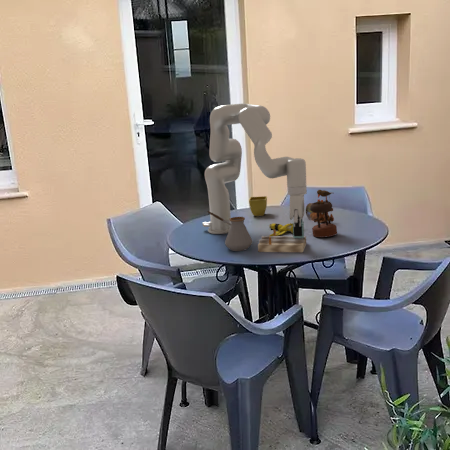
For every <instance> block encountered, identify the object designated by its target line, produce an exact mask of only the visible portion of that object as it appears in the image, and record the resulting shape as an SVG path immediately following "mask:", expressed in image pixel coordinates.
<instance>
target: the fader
mask: <svg viewBox="0 0 450 450" xmlns="http://www.w3.org/2000/svg"><path fill="white" fill-rule="evenodd" d="M292 223H293V234H292V236H293V238H294V240H303V238H304V236H305V223H304V221H303V222H301V226H302V236H294V221H293V222H292Z"/></svg>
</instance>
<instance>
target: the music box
mask: <svg viewBox="0 0 450 450" xmlns="http://www.w3.org/2000/svg"><path fill="white" fill-rule="evenodd" d="M316 194H317V198H319V197H320V196H321V198H322V197H324V198H325V200H324V199H317V202H311V203H312V204H311V206H310V209H311V211H312V212H313V213H317V218H316V219H314V221H313V222H314V223H317V224H316V225H313V226H312V229H311V230H312V237H315V238H327V237H333V236H335V235H337V234H338V228H337V227H338V226H337V225H336V224H335V223H333V222H334V221H335V218H334V215H333V213H331V212H333V211H334V207H333V203H332V202H331V201H330V200H329V201H328V198H329V199H331V196H330V195H332V194H333V192H331V191H328V190H325V189H317V191H316ZM324 212H325V217H324ZM327 212H328V213H330V215H329V214H328V215H327ZM321 213H322V214H321ZM319 215H320V218H319ZM316 221H317V222H316ZM320 221H321V223H320ZM322 221H324V222H322ZM331 222H332V223H331Z"/></svg>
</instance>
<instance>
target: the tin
mask: <svg viewBox="0 0 450 450" xmlns="http://www.w3.org/2000/svg"><path fill="white" fill-rule="evenodd" d="M312 203H313V202H309V203H308V204H306V207H305V215H306V218H307V219H308V220H310V221H312V222H314V219H316V218H317V213H313V212H312V211H311V209H310V206H311V204H312ZM321 214H322V213H321ZM327 215H329V212H327ZM324 217H325V212H324ZM319 218H320V215H319ZM315 223H318V222H317V221H316V222H315ZM322 223H325V222H324V221H322V222H321V221H320V224H322Z"/></svg>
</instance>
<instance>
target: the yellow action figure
mask: <svg viewBox="0 0 450 450" xmlns="http://www.w3.org/2000/svg"><path fill="white" fill-rule="evenodd" d="M268 227H269V228H270V229H271V230H272V231H273V230H276V236H282V235H283V234H285V233H287V232H289V233H291V234H292V235H293V222H292V223H291V222H290V223H287V224H285V225H283V224H281V223H274V222H273V223H270V224H269V226H268ZM268 236H274V232H272V233H271V234H269V235H268Z"/></svg>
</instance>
